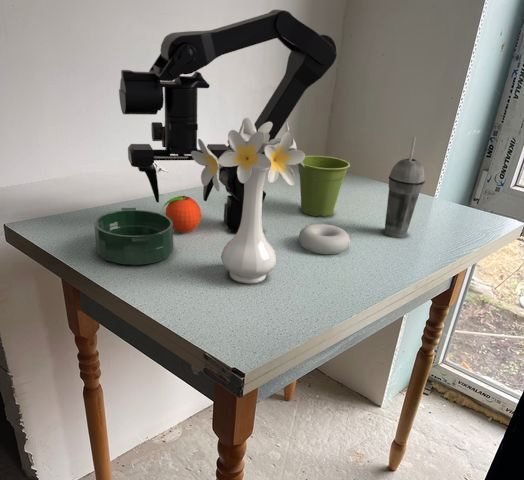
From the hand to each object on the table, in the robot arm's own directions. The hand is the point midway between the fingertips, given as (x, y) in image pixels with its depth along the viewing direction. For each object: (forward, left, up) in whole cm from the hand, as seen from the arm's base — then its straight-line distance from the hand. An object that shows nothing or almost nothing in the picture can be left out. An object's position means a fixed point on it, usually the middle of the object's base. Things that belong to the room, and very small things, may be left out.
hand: (181, 201), depth 108 cm
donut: (-26, +11, -6) cm, 29 cm away
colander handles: (+10, +9, -1) cm, 14 cm away
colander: (+10, +9, -6) cm, 15 cm away
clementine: (0, 0, -6) cm, 6 cm away
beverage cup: (-45, +6, -6) cm, 46 cm away
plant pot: (-33, -9, -6) cm, 35 cm away
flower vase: (-7, +23, -6) cm, 24 cm away
